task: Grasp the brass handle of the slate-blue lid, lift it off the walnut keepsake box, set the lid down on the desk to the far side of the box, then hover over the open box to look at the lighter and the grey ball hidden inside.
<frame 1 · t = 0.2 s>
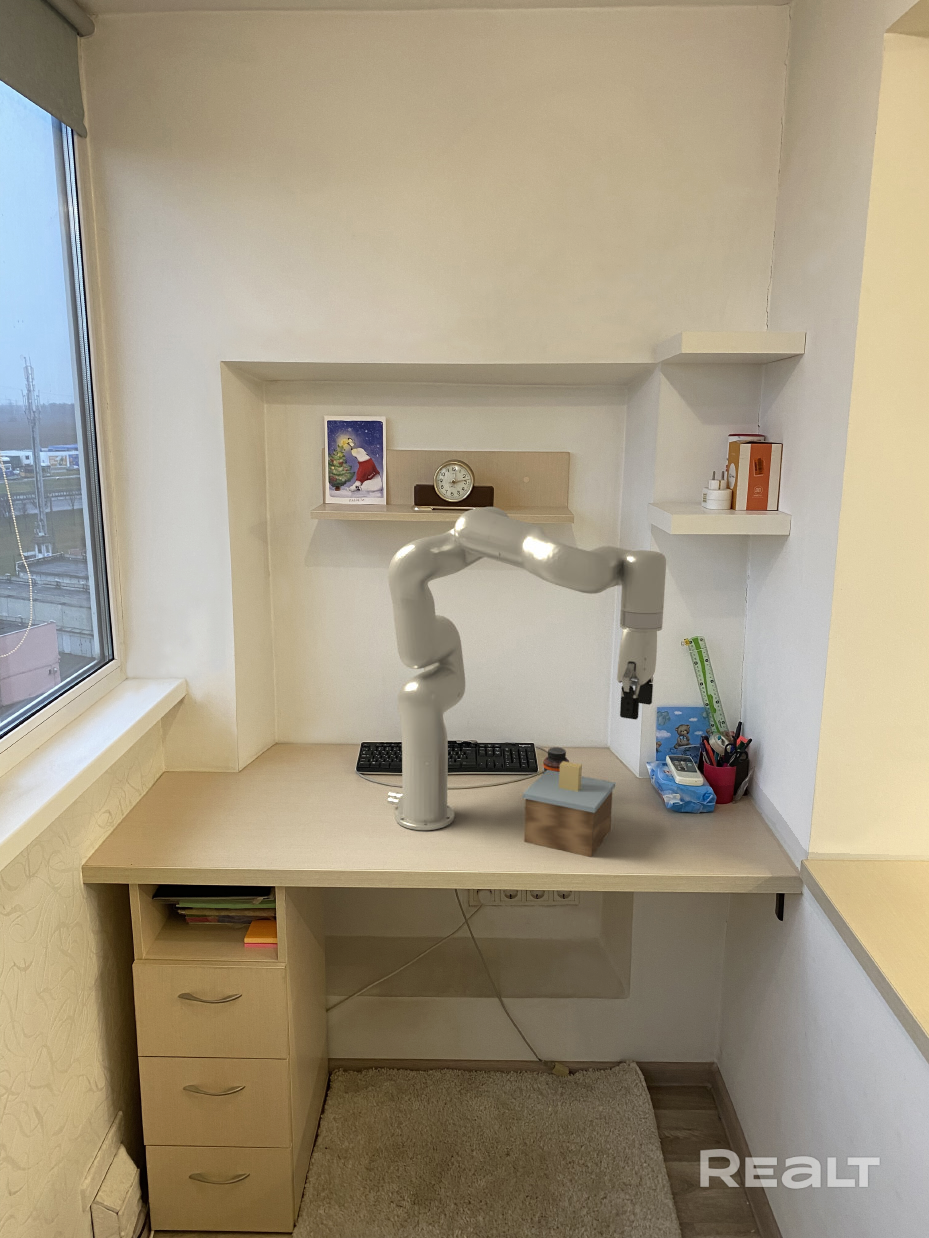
hand: (636, 710, 159), 31 cm above the table, fingers open, 9 cm apart
keepsake box: (568, 835, 176), on the table
lid: (569, 792, 174), point 9 cm above the table, touching keepsake box
grey ball: (582, 845, 172), resting in keepsake box
lighter: (563, 835, 176), resting in keepsake box
supplement bottle: (554, 798, 195), on the table
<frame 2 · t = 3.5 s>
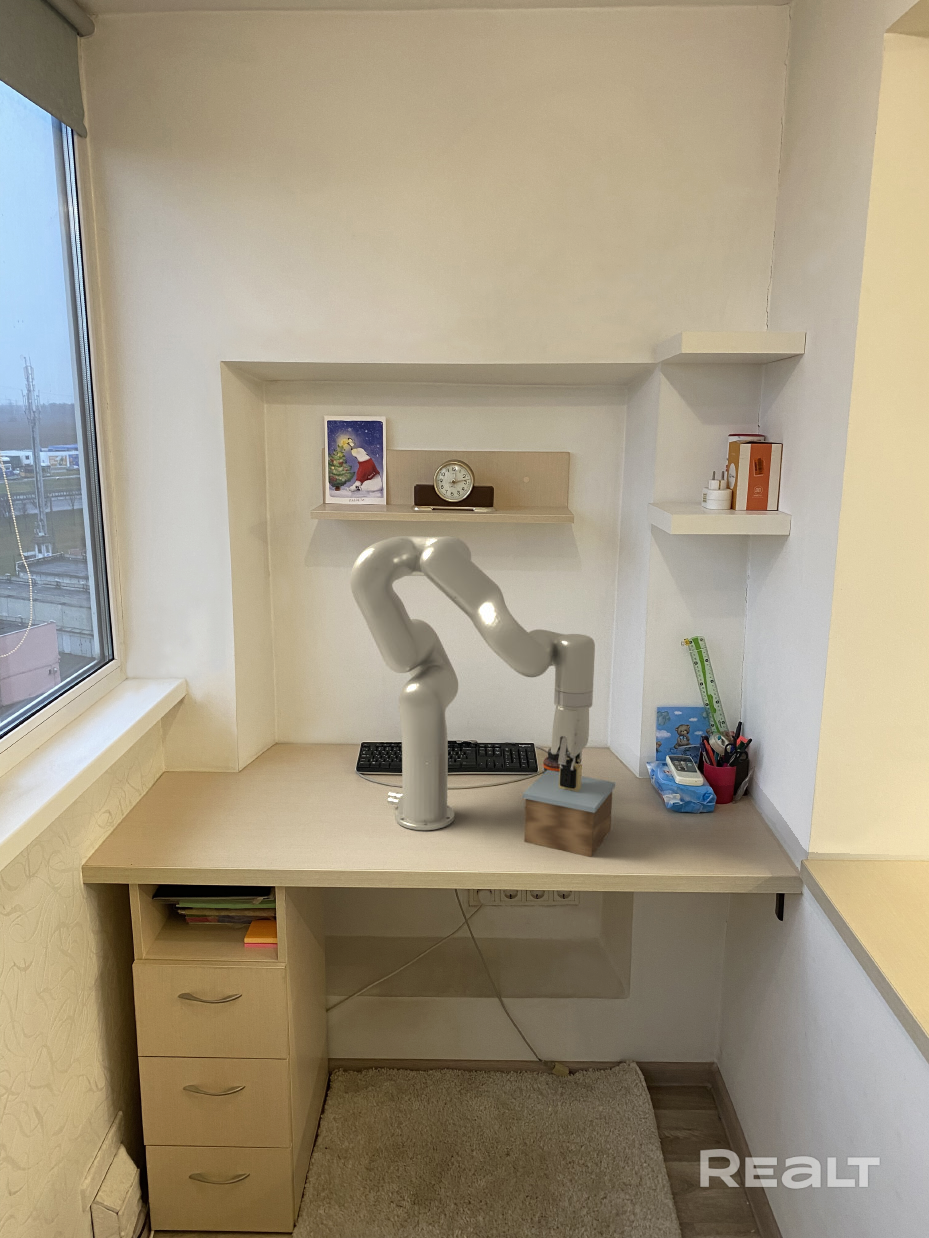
hand: (570, 783, 174), 11 cm above the table, fingers closed on lid
lid: (569, 792, 174), point 9 cm above the table, touching gripper, keepsake box
everything else where it was.
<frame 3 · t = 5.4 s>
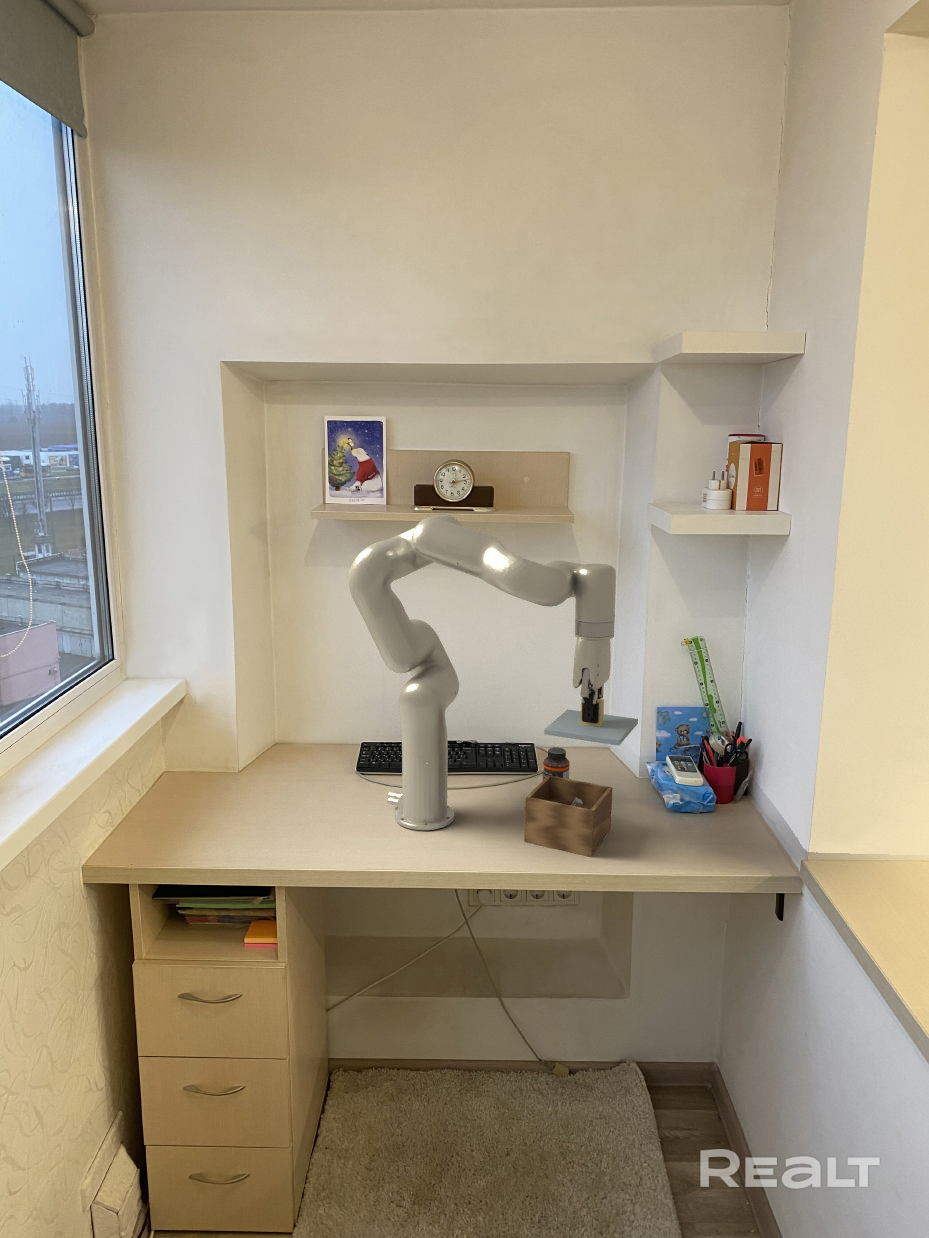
hand: (592, 719, 169), 26 cm above the table, fingers closed on lid
lid: (591, 728, 169), point 24 cm above the table, touching gripper
everything else where it was.
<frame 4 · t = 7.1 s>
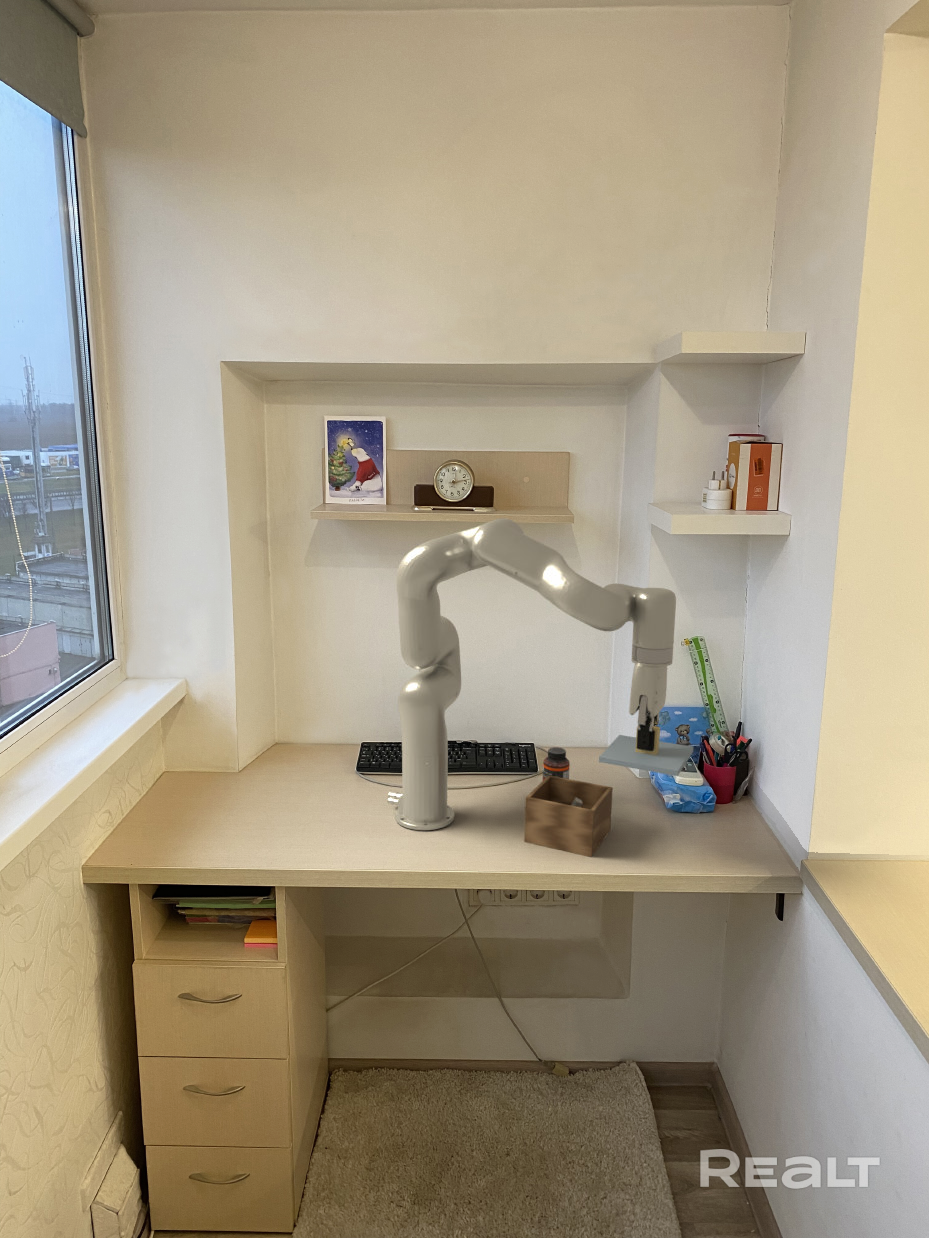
hand: (647, 746, 165), 22 cm above the table, fingers closed on lid
lid: (646, 756, 165), point 20 cm above the table, touching gripper
everything else where it was.
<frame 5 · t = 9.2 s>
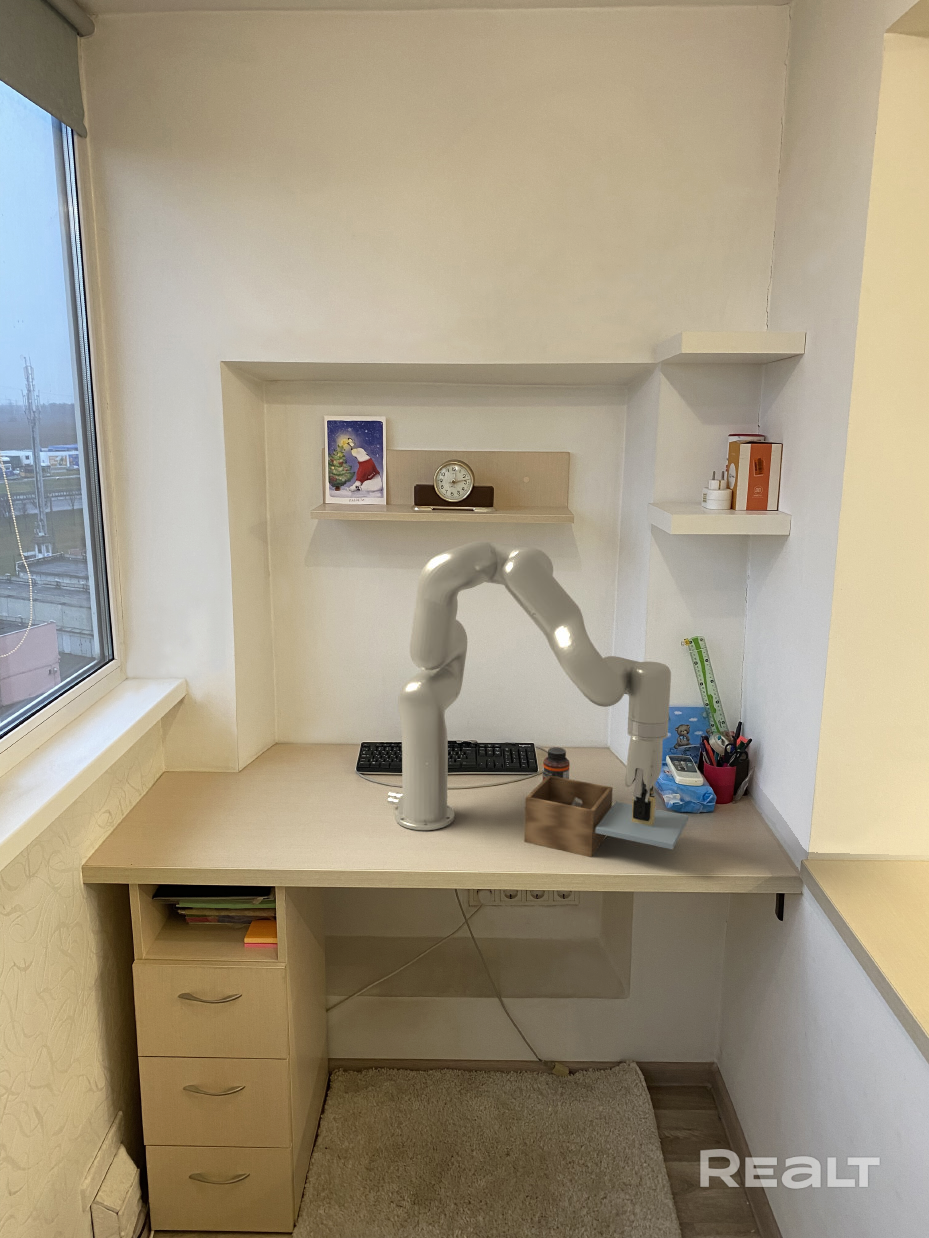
hand: (643, 815, 168), 8 cm above the table, fingers closed on lid
lid: (642, 826, 168), point 5 cm above the table, touching gripper
everything else where it was.
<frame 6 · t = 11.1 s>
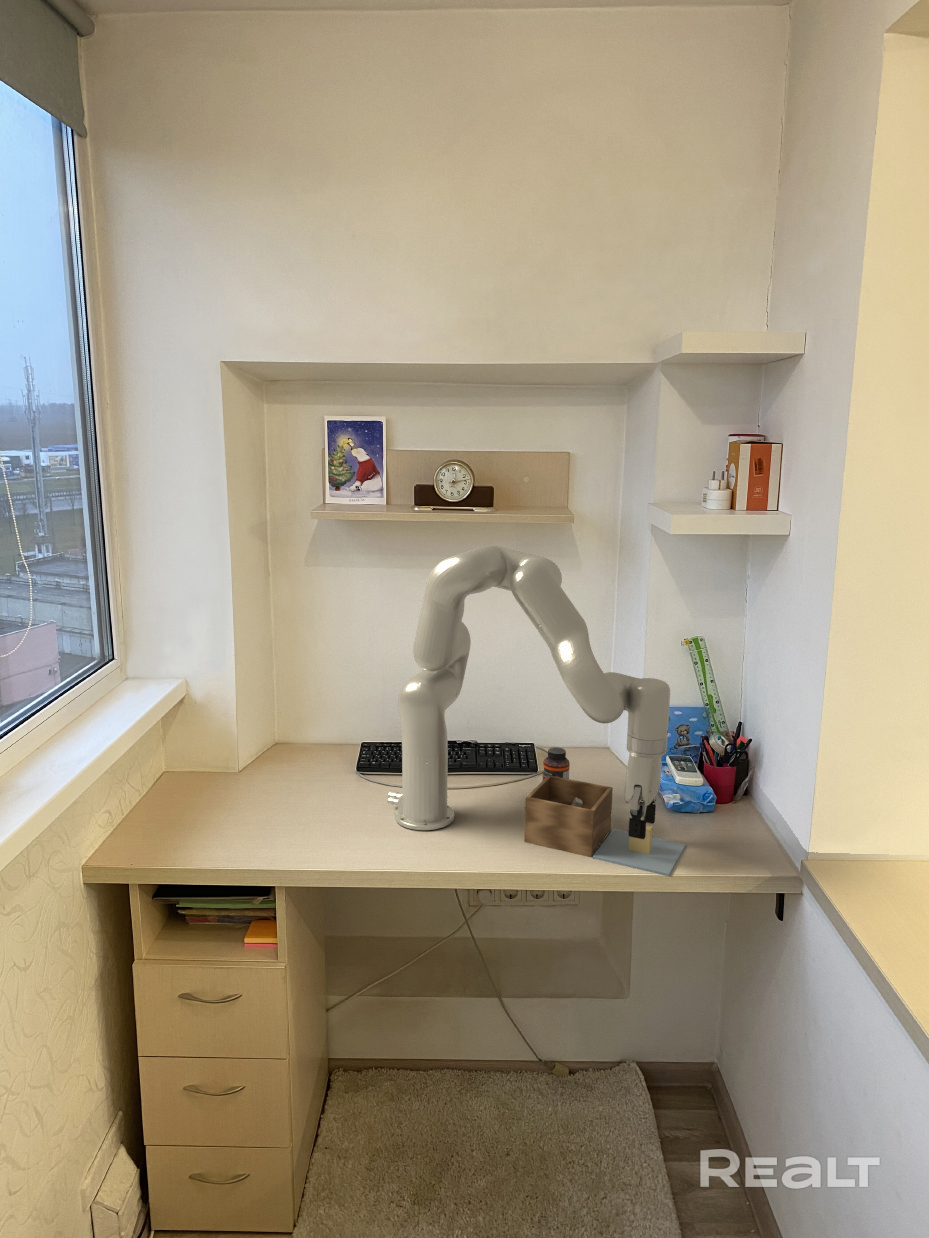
hand: (641, 828, 169), 5 cm above the table, fingers open, 6 cm apart
lid: (639, 854, 170), on the table
everything else where it was.
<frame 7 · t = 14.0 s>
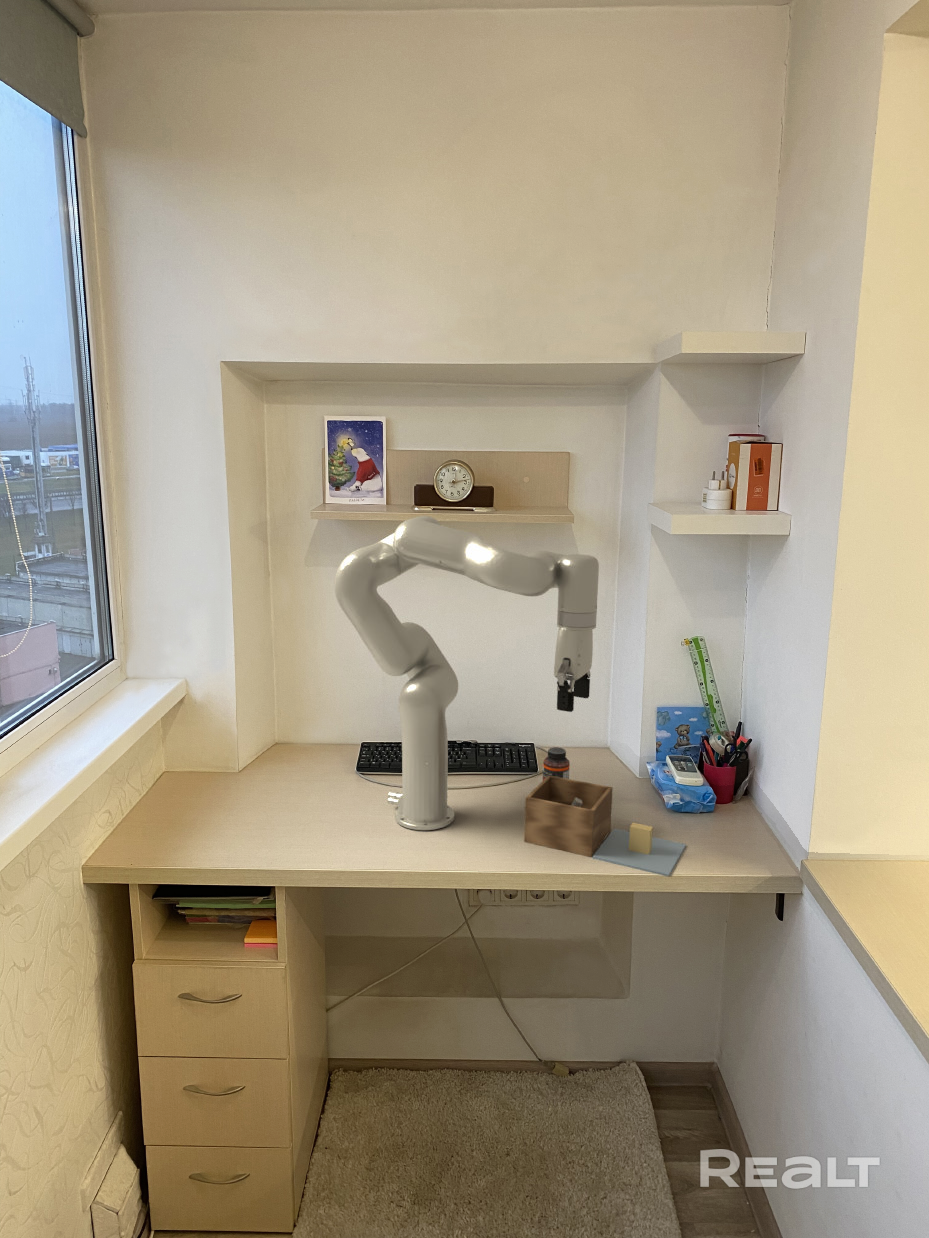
hand: (573, 703, 170), 28 cm above the table, fingers open, 9 cm apart
nothing on the table moved.
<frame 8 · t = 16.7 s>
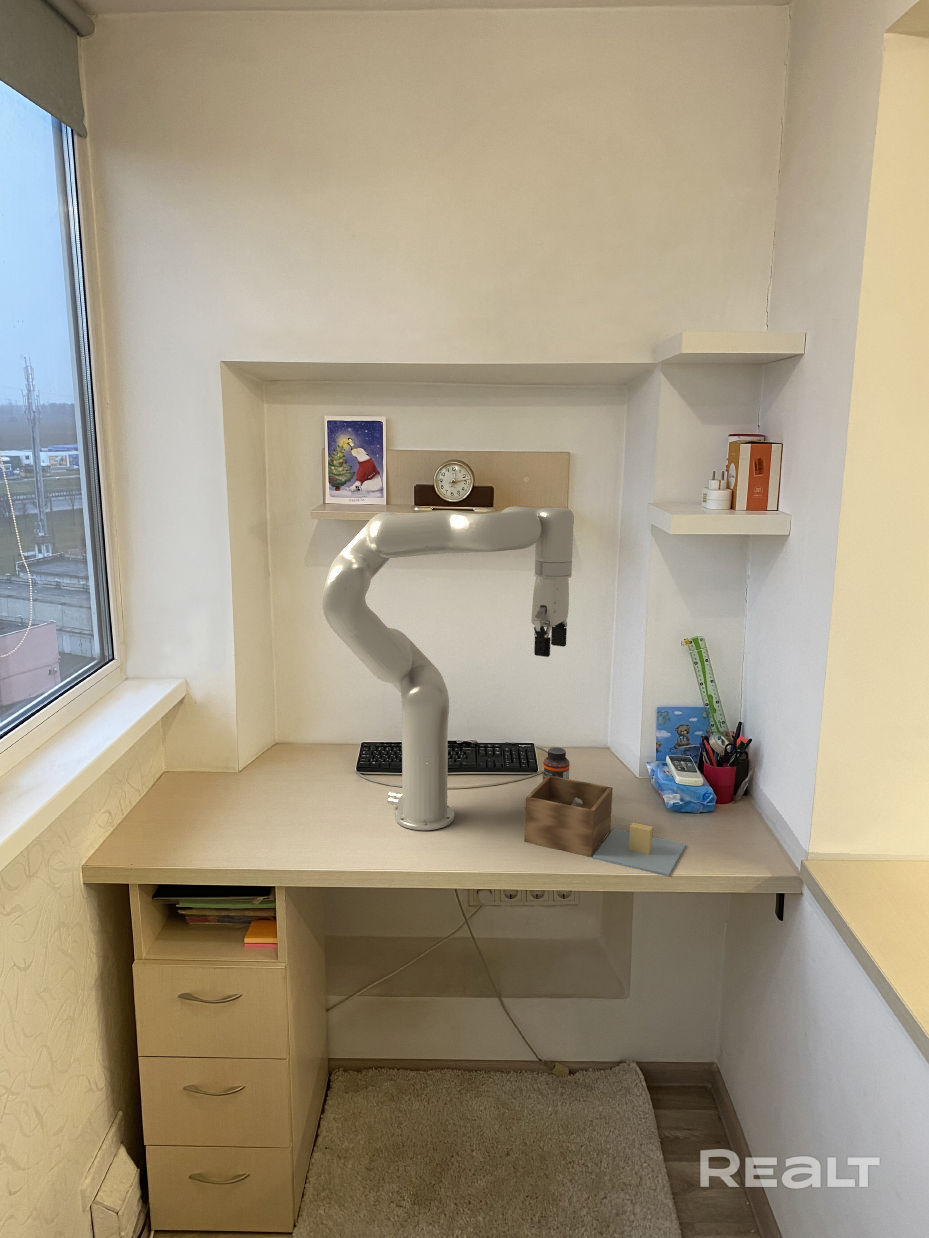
hand: (550, 650, 179), 36 cm above the table, fingers open, 9 cm apart
nothing on the table moved.
at the end: lid inside the target area (0.1 cm from its centre), on the table; lid moved 18.0 cm from its start; lid tilted 0° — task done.
